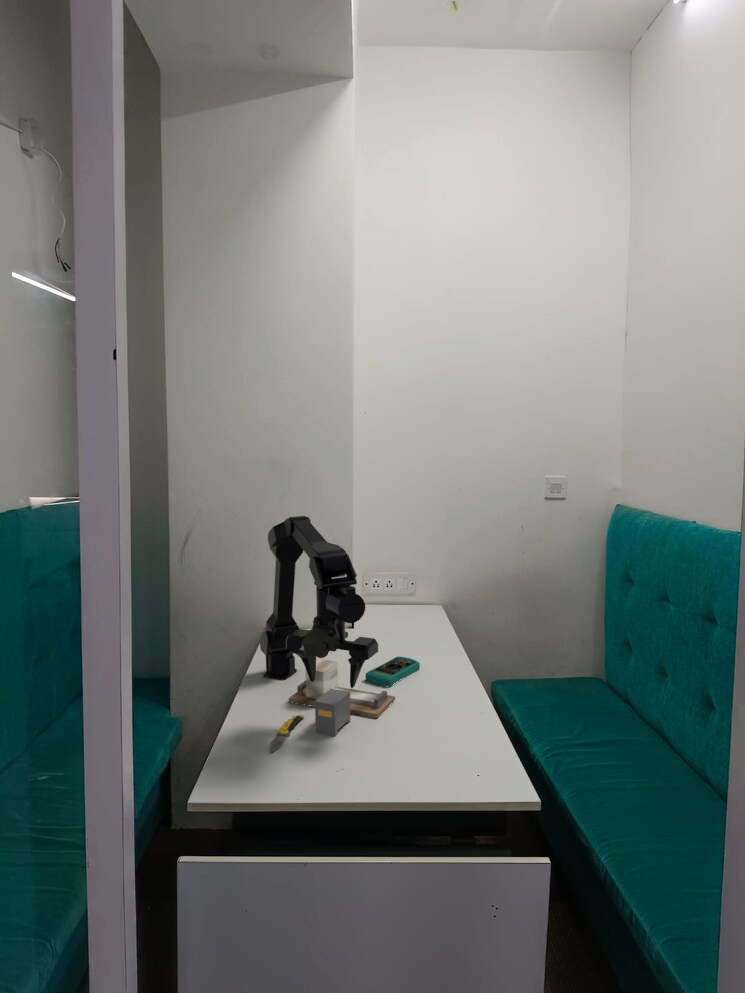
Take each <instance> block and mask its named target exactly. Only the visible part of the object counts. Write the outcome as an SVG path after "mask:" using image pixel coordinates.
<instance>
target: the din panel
mask: <svg viewBox="0 0 745 993" xmlns="http://www.w3.org/2000/svg"><path fill="white" fill-rule="evenodd" d="M338 664H339V663H338V661H336V660H329V659H324V658H319V659H318V660H316V674H315V680H314V681H313V682H312V681H310V678H309V676H308V673H307V670H306V669H305V680H304V681H303V682H301V683H300V684H299V685H297V689H296V690H297V691H296V692H295V693H294V694H292V695H291V696H289V697H288V703H289V702H293V703H292V704H294V703H298V704H297V705H300V704H305V705H311V706H315V701H316V700H317V699H319V698H320V697H321V696H322V695H324V694H325V693H326V692H327V691H329V690H330V689H336V690H342V691H348V692H350V715H355V714H357V715H356V716H361V717H366V718H371V717H372V718H373V719H377V720H378V719H379V718H380V717H381V716H382V715H383V714H384V713H385V712H386V711H387V710H386V709H387V708H390V706H391V705H392V704H393V703H394V702H395V701H396V696H395V695H390V694H388V691H386V690H382V691H381V692H380V693H377V692H373V691H372V692H371V691H365V690H361V689H353V688H347V687H341V686H339V679H338V678H339V677H338V676H339V672H338V670H339V669H338ZM394 700H395V701H394ZM393 701H394V702H393ZM392 702H393V703H392ZM391 703H392V704H391ZM390 704H391V705H390ZM305 705H304V706H305ZM389 705H390V706H389ZM311 706H310V707H311ZM385 710H386V711H385ZM384 711H385V712H384ZM383 712H384V713H383ZM382 713H383V714H382ZM372 718H371V719H372Z"/></svg>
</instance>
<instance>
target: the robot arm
mask: <svg viewBox="0 0 745 993" xmlns="http://www.w3.org/2000/svg"><path fill="white" fill-rule="evenodd" d="M267 541H268V542H267V543H268V545H269V549H270V552H271V553H272V555H273V556H274V558H275V567H274V568H275V569H274V572H275V573H274V587H273V588H274V589H273V590H274V591H273V604H272V605H273V607H272V609H273V610H272V613H271V615H270V616H269V617H268V618H267V620H266V622H265V627H264V631H263V632H262V633H263V634H262V636H261V638H260V641H259V646H260V647H259V648H260V652H262V653H263V654H264V655H265V670H266V672H263V673H262V676H263V675H264V676H263V677H265V676H268V677H267V678H271V677H273V679H277V678H278V680H283V679H284V680H286V679H288V678H289V677H291V676H293V674H295V673H296V672H298V670H297V668H296V657H295V656H294V654H295V655H296V656H298V657H299V658H300V659H301V661H302V663H303V665H304V668H305V671H306V670H307V673H308V676H309V678H310V681H312V682H313V681H314V680H315V674H316V662H317V658H319V659H324V658H327V656H328V655H329V653H330V652H337V650H339V651H340V650H341V651H348V655H349V656H350V658H348V659H347V661H348V663H349V666H350V667H349V668H350V669H349V670H350V671H349V683H350V684H349V685H350V689H353V688H355V686H356V684H357V681H358V678H359V676H360V673H361V671H362V668H363V665H364V664H365V662H366V661H368V660H369V659H371V658H372V657H373V656H374V655H376V654H377V653H379V642H378V641H377V640H376V638H373V637H366V636H358V638H356V639H355V640H346V639H347V638H348V637H349V632H348V631H346V624H354V623H357V622H358V621H360V620H361V619H362V618H363V617H364V615H365V612H366V603H365V601H364V598H363V597H362V596H361V595H359V594H357V592H356V589H357V588H356V586H354V585H357V584H358V582H357V572H356V571H355V567H354V566H353V563H352V560H351V558H350V556H349V554H348V552H346V550H345V549H344V548H343V547H342V546H340V545H339V544H335V543H332V542H331V543H330V542H328V541H327V540H326V539H325V537H324V536H323V535H322V534H321V533H320V531H318V530H317V528H316V527H315V526H314V525H313V524H312V523H311V518H310V517H309V516H306V515H299V516H297V515H296V516H289V517H287V518H286V519H285V520H284V521H282V522H280V523H277V524H276V525H274V526H272V528H270V530H269V531H268V533H267ZM303 553H305V555H306V556H307V557H308V558H309V561H308V563H309V564H308V568H309V571H310V573H311V576H312V577H313V579H314V580H313V584H314V585H315V586H316V589H315V591H316V594H315V595H316V596H315V597H316V616H315V617H313V620H312V621H313V622H312V628H311V629H305V628H300V627H299V625H298V623H297V621H296V620H295V618H294V616H293V613H294V612H293V610H294V595H295V594H294V593H295V592H294V591H295V581H296V580H295V578H296V563H297V561H298V560H299V559H300V557H301V556H302V554H303Z"/></svg>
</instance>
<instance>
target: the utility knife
mask: <svg viewBox="0 0 745 993" xmlns="http://www.w3.org/2000/svg"><path fill="white" fill-rule="evenodd" d="M304 719H305V717H304V714H295V715H292V716H291V718H289V719H287V720H286V721H284V722H283V724H282V726H280V728H279V730H277V734H276V736H275V737H274V738H273V740H272V742H271V745H270V750H269V754H271V753H273V752H275V751H277V750H278V749H279V748H280V747H281V746H282V745H283V743H285V741H286V739H287V738H289V737H290V736H291V734H290V733H291V732H292V731H294V729H295V728H296V727H297V726H299V725H298V724H300V723H301V722H302V721H303V720H304Z"/></svg>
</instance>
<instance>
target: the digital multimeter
mask: <svg viewBox="0 0 745 993" xmlns="http://www.w3.org/2000/svg"><path fill="white" fill-rule="evenodd" d="M420 668H421V665H420V662H419V661H418V660H415V659H413V658H410V657H405V656H395V657H393V658H391V659H389V660H388V661H386V662H385V663H383V664H381V665H378V667H377V666H376V667H374V668H372V669H371V670H369V671H367V672H366V673H365V682H367V681H368V682H367V683H370V682H371V683H370V684H373V683H374V684H373V685H376V684H378V685H377V686H380V685H383V686H382V687H385V686H388V687H387V688H391V687H392V686H391V685H393V684H394V683H396V682H397V681H399V680H400V679H402V678H404V677H405V678H407V677H408V676H407V675H409V674H411V673H413V672H414V673H416V672H418V671H420V670H419V669H420ZM417 670H418V671H417ZM415 671H416V672H415ZM414 673H413V674H414ZM411 675H412V674H411ZM406 676H407V677H406ZM409 676H410V675H409ZM405 678H404V679H405ZM402 680H403V679H402ZM400 681H401V680H400ZM400 681H399V682H400ZM397 683H398V682H397ZM397 683H396V684H397ZM394 685H395V684H394ZM394 685H393V686H394ZM390 686H391V687H390Z"/></svg>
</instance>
